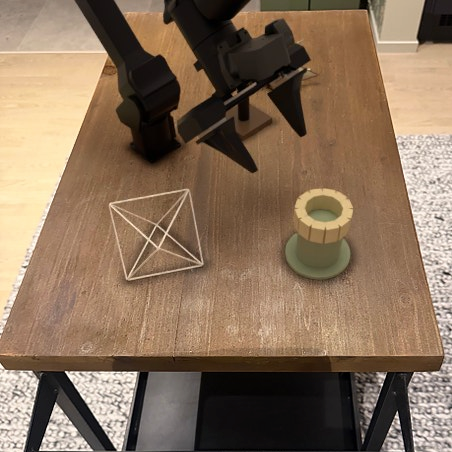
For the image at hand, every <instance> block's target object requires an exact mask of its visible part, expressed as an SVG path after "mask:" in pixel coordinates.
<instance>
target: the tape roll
mask: <svg viewBox="0 0 452 452" xmlns="http://www.w3.org/2000/svg"><path fill="white" fill-rule="evenodd" d="M318 209H324V210H329V211H331V212H333V213H334V214H336V215H337V216H338V218H337V219H336V220H335V221H330V222H320V221H315V220H314V219H312V218H311V217H310V216H308V215H307V214H308V213H310V212H311V211H313V210H318ZM353 214H354V207H353V204H352V202H351V201H350V198H348V196H346V195H345V194H343V193H341V192H340V191H337V190H335V189H331V188H325V187H323V188H321V187H320V188H313V189H309V190H306V191H305V192H303V194H301V195H300V196H298V198H297V199H296V201H295V205H294V209H293V226H294V228H295V230H296V233H297V232H298V234H300V235H301V236H302V237H304V238H305V239H307V240H308V239H310V241H312V242H317V243H321V244H322V243H323V241H324V243H325V244H326V243H331V242H336V241H337V239H338V240H340V239H341V238H343V239H344V237H345V236H346V235H348V233H349V231H350V228H351V223H352V220H353Z"/></svg>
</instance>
